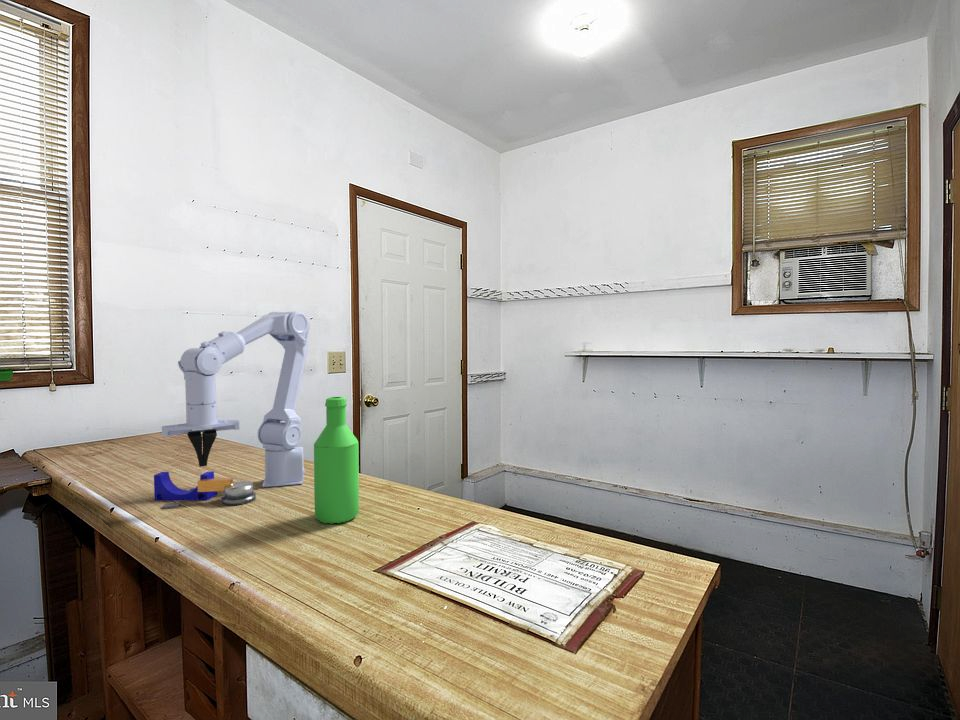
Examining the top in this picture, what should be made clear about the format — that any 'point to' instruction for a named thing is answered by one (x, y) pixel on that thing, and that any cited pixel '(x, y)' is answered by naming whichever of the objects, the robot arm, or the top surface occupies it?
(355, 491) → the bottle
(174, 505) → the grey block
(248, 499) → the dial housing
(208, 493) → the cable clip
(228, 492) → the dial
